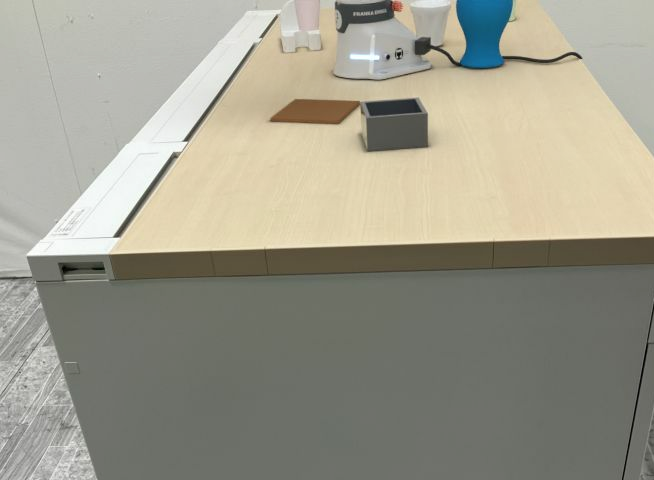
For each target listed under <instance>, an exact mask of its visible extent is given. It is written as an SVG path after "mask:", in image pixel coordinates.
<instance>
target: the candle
mask: <svg viewBox="0 0 654 480" xmlns="http://www.w3.org/2000/svg"><path fill="white" fill-rule="evenodd" d="M516 11H517V0H513V8H512V13H511V16H510V19H509V21H508V22H513V21H515V20H516Z"/></svg>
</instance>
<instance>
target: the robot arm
mask: <svg viewBox="0 0 654 480" xmlns="http://www.w3.org/2000/svg"><path fill="white" fill-rule="evenodd" d="M403 9H404V4H403V2H402V1H400V0H394V1H393V0H335V1H334V23H335V30H336V51H335V61H334V67H333V71H332V72H333V75H334V76H337V77H341V78H347V79H367V80H368V79H369V80H379V81H380V80H386V79H390V78H395V77H399V76H403V75H406V74H407V75H408V74H411V73H417V72H421V71H425V70H430V69H431V68H432V62H431V60H430V59H428V58H426V57H425V55H427V54H428V53H429V52H431V51H432V50H434V51H436V52H439V53H441V54H443V55H445V57H446V58H447V59H448V60H449V62H450V63H451V64H452V65H454V66H457V67H464V66H463V65H461V64H460V61H456V60H455V59H454V58H453V57H452V55H451V54H450V53H449V52H448V51H446V49H443V48H441V47H436V46H433V45H431V37H421V38H419V39H418V37H417V35H416V33H415V32H413V31H412V30H411V29H409V27H407V26H406V25H405V24H404V23H403V22H401V21H400V20H399V19H398V18H396V15H395V12H396V13H401V12H403ZM571 56H573V57H575V58H577V59H578V60H583V59H584V58H583V56H582V55H581V54H579V53H578V52H577V51H569V52H566V53H563V54H561V55H560V56H557V57H554V58H550V59H549V58H548V59H542V58H532V57H527V56H521V55H502V57H503V59H504V61H506V60H511V61H512V60H515V61H516V60H517V61H525V62H530V63H537V64H552V63H557V62H558V61H561V60H563V59H566V58H568V57H571Z"/></svg>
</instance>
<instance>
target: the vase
mask: <svg viewBox="0 0 654 480" xmlns="http://www.w3.org/2000/svg"><path fill="white" fill-rule="evenodd" d="M512 8H513V0H456V2H455V13H456V17H457V21H458V23H459V25H460V27H461V30H462V32H463V35H464V39H465V50H464V53H463V55H462V57H461V58H460V60H459V63H460V64H461V65H463V66H462V67H466V68H470V69H491V68H497V67H499V66H502V65H503V64H504V63H505V60H504V59H503V57H502V56H503V55H502V53H501V50H500V42H501V38H502V35H503V33H504V32H505V29H506V27H507V25H508V23H509V22H510V21H509V19H510V16H511V13H512Z"/></svg>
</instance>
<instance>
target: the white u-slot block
mask: <svg viewBox="0 0 654 480" xmlns="http://www.w3.org/2000/svg"><path fill="white" fill-rule="evenodd" d="M279 29H280V40H281V45H282V50H283V51H282V52H283V53H296V52H297V51H296V49H298V48H308V50H309V51H311V52H313V51H320V50H322V41H321V40H322V39H321V38H322V37H321V32H320V28H319V29H318V30H315V31H300V30H299V26H298V21H297V15H296V9H295V4H294V0H288V1H286V2H285V3H284V4H283V6H282V7H281V10H280V13H279Z"/></svg>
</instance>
